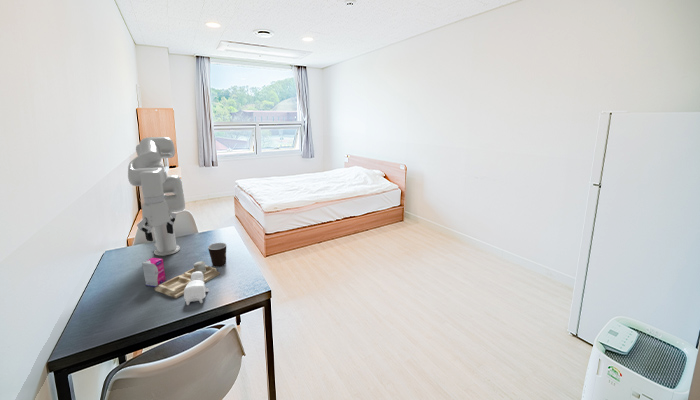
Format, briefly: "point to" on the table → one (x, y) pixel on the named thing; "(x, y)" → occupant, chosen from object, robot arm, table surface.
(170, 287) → the beech caddy
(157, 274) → the supplement box
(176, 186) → the robot arm
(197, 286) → the white figurine
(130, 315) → the table surface
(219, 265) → the coffee mug
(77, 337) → the table surface
